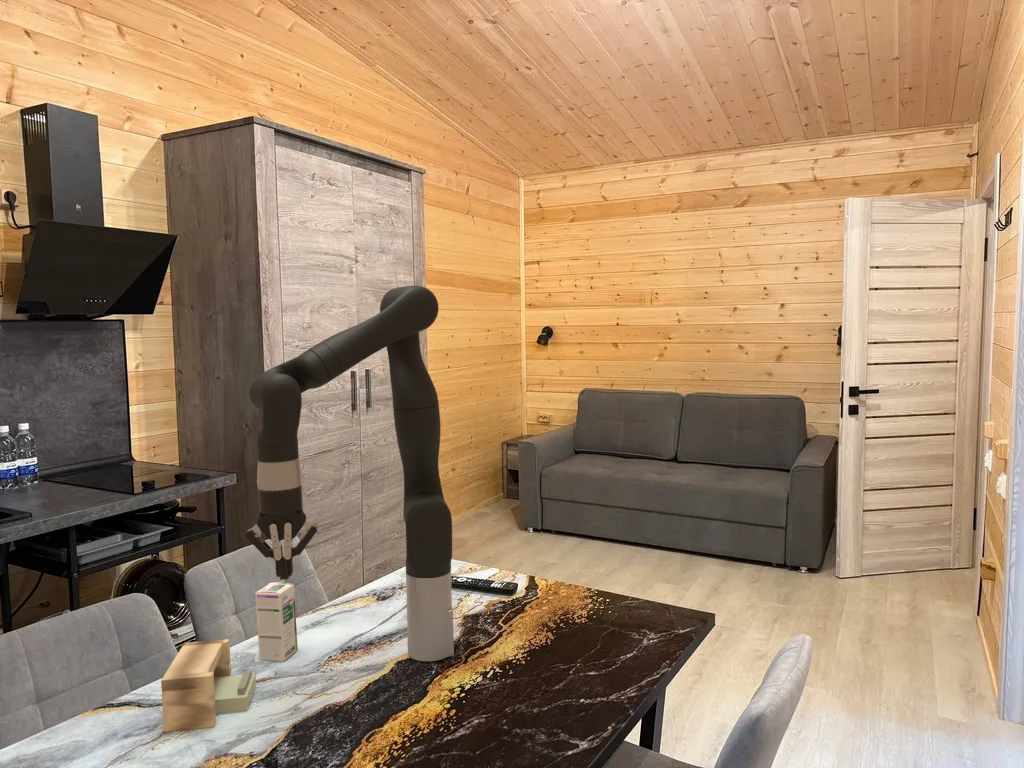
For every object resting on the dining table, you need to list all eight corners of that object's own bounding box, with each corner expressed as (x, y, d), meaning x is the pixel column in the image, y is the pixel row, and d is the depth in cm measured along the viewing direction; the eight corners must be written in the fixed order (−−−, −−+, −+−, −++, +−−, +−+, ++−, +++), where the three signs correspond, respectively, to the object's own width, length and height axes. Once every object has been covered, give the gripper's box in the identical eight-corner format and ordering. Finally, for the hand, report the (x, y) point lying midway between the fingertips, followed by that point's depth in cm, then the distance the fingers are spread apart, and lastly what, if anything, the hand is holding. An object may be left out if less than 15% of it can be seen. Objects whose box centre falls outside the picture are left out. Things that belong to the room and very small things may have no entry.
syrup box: (284, 662, 150) (281, 592, 149) (257, 660, 151) (254, 590, 150) (298, 650, 156) (295, 582, 155) (272, 648, 157) (269, 581, 156)
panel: (256, 689, 140) (255, 667, 140) (247, 713, 132) (246, 690, 131) (194, 694, 139) (193, 672, 138) (181, 719, 130) (180, 696, 129)
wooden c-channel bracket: (231, 684, 141) (229, 639, 140) (214, 726, 126) (211, 675, 126) (187, 689, 140) (184, 642, 139) (164, 731, 125) (161, 680, 124)
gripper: (319, 477, 138) (323, 568, 140) (244, 482, 136) (250, 574, 137) (316, 486, 131) (320, 582, 132) (237, 491, 128) (242, 588, 130)
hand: (284, 578), depth 135 cm, fingers closed
